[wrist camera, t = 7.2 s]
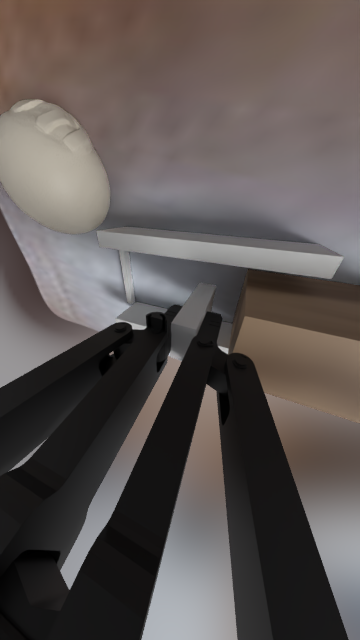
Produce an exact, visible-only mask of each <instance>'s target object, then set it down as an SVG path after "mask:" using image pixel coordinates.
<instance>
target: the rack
mask: <svg viewBox="0 0 360 640" xmlns="http://www.w3.org/2000/svg"><path fill="white" fill-rule="evenodd" d="M96 233H97V238H98V242H99V247H101V248H108V249H115V250H119V253H120V259H121V266H122V272H123V278H124V284H125V290H126V297H127V303H130V304H132V303H133V302H135V294H134V286H133V278H132V270H131V263H130V255H129V251H130V252H137V253H144V254H151V255H159V256H166V257H173V258H180V259H188V260H195V261H202V262H210V263H217V264H224V265H231V266H239V267H246V268H253V269H260V270H268V271H275V272H282V273H289V274H297V275H304V276H311V277H319V278H326V279H332V277H333V275H334V274H335V272H336V270H337V269H338V267H339V265H340V264H341V262H342V260H343V258H344V257H343V256H341V255H339V254H337V253H335V252H334V251H332V250H330V249H328V248H326V247H324V246H322V245H320V244H311V243H300V242H289V241H278V240H268V239H257V238H246V237H235V236H224V235H214V234H203V233H192V232H181V231H170V230H159V229H149V228H138V227H127V226H126V227H119V228H112V229H105V230H97V231H96ZM167 310H168V309H166V308H161V307H157V306H152V305H148V304H144V303H139V302H135V303H134V304H133V305H132V306H130V307H129V308H128V309H127V310H125V311H124V312H123V313H122V314H120V315H119V316H118V317H117V318H115V319H116V323H118V322H127V323H129V324H131V325H132V329H138V330H144V329H145V328H146V327H147V326H146V315H147V314H148V313H151V312H162V313H165V312H166V311H167ZM232 325H233V324H232V323H227V322H223V321H222V323H221V327H220V331H219V335H218V339H217V345H218V347H219V348H220V349H221V350H222V351H223V352H225V353H226V354H228V350H229V344H230V338H231V332H232Z"/></svg>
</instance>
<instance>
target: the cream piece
mask: <svg viewBox="0 0 360 640" xmlns="http://www.w3.org/2000/svg"><path fill="white" fill-rule="evenodd" d="M0 182H1V183H2V185H3V187H4V189H5V190H6V192H7V193H8V195H9V196H10V198H11V199H12V200H13V202H14V203H15V204H16V205H17V206H18V207H19V208H20V209H21V210H22V211H23V212H24V213H25V214H26V215H28V216H29V217H30V218H32V219H33V220H35V221H36V222H38V223H39V224H41V225H43V226H45V227H47V228H49V229H51V230H54V231H58V232H61V233H66V234H83V233H87V232H90V231H92V230H94V229H96V228H97V227H98V226H100V225H101V224H102V222H103V221H104V219H105V218H106V215H107V213H108V209H109V205H110V186H109V181H108V177H107V173H106V171H105V168H104V166H103V164H102V162H101V160H100V158H99V156H98V154H97V152H96V151H95V149H94V147H93V146H92V142H91V141H90V138H89V136H88V134H87V132H86V131H85V129H84V128H83V127H82V126H81V125H80V124H79V123H78V121H77V120H76V119H75V118H74V117H73V116H72V115H71V114H69V113H68V112H66V111H65V110H64V109H62V108H61V107H59V106H57V105H55V104H52V103H47V102H45V101H43V100H37V99H34V100H33V99H26V100H21V101H19V102H17V103H16V104H14V105H13V106H12V108H11V109H10V110H9V111H7V112H4V113H3V114H2V115H0Z"/></svg>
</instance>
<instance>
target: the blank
mask: <svg viewBox="0 0 360 640" xmlns="http://www.w3.org/2000/svg"><path fill="white" fill-rule="evenodd" d="M231 353H241V354H244V355H246V356H248V357H249V358H250V359H251V360H252V361H253V363H254V364H255V367H256V370H257V373H258V376H259V379H260V382H261V385H262V388H263V391H264V393H267V394H270V395H273V396H276V397H279V398H282V399H285V400H288V401H292V402H295V403H298V404H301V405H304V406H307V407H310V408H314V409H316V410H320V411H322V412H326V413H329V414H332V415H335V416H338V417H341V418H344V419H347V420H350V421H354V422H357V423H360V285H353V284H347V283H340V282H333V281H327V280H320V279H313V278H306V277H300V276H293V275H286V274H279V273H273V272H266V271H259V270H252V269H248V270H247V273H246V277H245V280H244V284H243V287H242V290H241V294H240V297H239V301H238V304H237V308H236V311H235V315H234V319H233V325H232V332H231V338H230V344H229V350H228V355H229V354H231Z"/></svg>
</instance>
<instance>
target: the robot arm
mask: <svg viewBox="0 0 360 640" xmlns="http://www.w3.org/2000/svg"><path fill="white" fill-rule="evenodd" d="M215 290H216V285H211V284H206V283H199V284H198V286H197V287H196V288H195V290H194V291H193V293H192V294H191V296H190V297H189V298H188V300H187V301H186V303H185V304H184V305H183V306H180V305H173V306H171V307H169V309H168V310H167V311H166V312H165V313H162V312H151V313H148V314H147V315H146V326H147V327H146V328H145V329H144V330H138V329H132V325H131V324H129V323H127V322H118V323H115V324H113V325H111V326H109V327H107V328H106V329H104V330H102V331H100V332H99V333H97V334H95V335H93V336H92V337H90V338H88V339H86V340H84V341H83V342H81V343H79V344H77V345H76V346H74V347H72V348H70V349H69V350H67V351H65V352H63V353H62V354H60V355H58V356H56V357H54V358H53V359H51V360H49V361H47V362H46V363H44V364H42V365H40V366H38V367H37V368H35V369H33V370H31V371H30V372H28V373H26V374H24V375H23V376H21V377H19V378H17V379H15V380H14V381H12V382H10V383H8V384H7V385H5V386H3V387H1V388H0V640H141V638H142V635H143V630H144V627H145V622H146V619H147V615H148V611H149V607H150V603H151V599H152V595H153V591H154V588H155V583H156V579H157V575H158V571H159V568H160V564H161V560H162V556H163V552H164V548H165V544H166V540H167V536H168V532H169V528H170V524H171V520H172V516H173V513H174V509H175V505H176V501H177V497H178V493H179V489H180V485H181V481H182V477H183V473H184V469H185V465H186V462H187V458H188V454H189V450H190V446H191V442H192V438H193V434H194V430H195V426H196V422H197V419H198V414H199V411H200V407H201V403H202V399H203V395H204V391H205V387H206V384H207V385H209V386H210V387H212V388H213V389H215V390H216V391H217V403H218V415H219V426H220V439H221V450H222V462H223V474H224V485H225V497H226V508H227V520H228V532H229V543H230V555H231V567H232V579H233V590H234V602H235V614H236V626H237V637H238V640H348V637H347V634H346V631H345V628H344V625H343V622H342V619H341V616H340V613H339V610H338V607H337V605H336V602H335V598H334V596H333V593H332V590H331V587H330V584H329V581H328V578H327V575H326V572H325V569H324V566H323V563H322V560H321V558H320V555H319V552H318V549H317V546H316V543H315V540H314V537H313V534H312V531H311V528H310V525H309V522H308V520H307V517H306V514H305V511H304V508H303V505H302V502H301V499H300V496H299V493H298V490H297V487H296V484H295V482H294V479H293V476H292V473H291V470H290V467H289V464H288V461H287V458H286V455H285V452H284V449H283V446H282V443H281V440H280V437H279V435H278V432H277V429H276V426H275V423H274V420H273V417H272V414H271V411H270V408H269V406H268V402H267V399H266V397H265V394H264V391H263V388H262V385H261V382H260V379H259V376H258V373H257V370H256V367H255V364H254V363H253V361H252V360H251V359H250V358H249V357H248V356H246V355H244V354H241V353H231V354H229V355H228V354H226V353H225V352H223V351H222V350H221V349H220V348H219V347H218V345H217V339H218V335H219V331H220V327H221V323H222V319H223V318H222V316H221V314H217V313H213V312H211V311H212V306H213V300H214V295H215ZM112 351H113V352H114V354H112V355H109V353H111V352H112ZM169 353H170V357H172V358H175V359H178V360H182V362H181V365H180V367H179V369H178V372H177V374H176V376H175V378H174V380H173V382H172V385H171V387H170V389H169V391H168V393H167V395H166V398H165V400H164V402H163V404H162V406H161V409H160V411H159V413H158V415H157V417H156V420H155V422H154V424H153V426H152V428H151V431H150V433H149V435H148V438H147V439H146V442H145V444H144V446H143V448H142V450H141V453H140V455H139V457H138V459H137V462H136V464H135V466H134V468H133V470H132V472H131V475H130V477H129V479H128V481H127V483H126V486H125V488H124V490H123V492H122V494H121V497H120V499H119V501H118V503H117V505H116V508H115V510H114V512H113V514H112V516H111V518H110V520H109V521H108V523H107V525H106V526H105V527H104V529H103V530H102V532H101V533H100V534H99V536H98V537H97V539H96V541H95V542H94V544H93V546H92V547H91V549H90V551H89V552H88V554H87V556H86V559H85V560H84V562H83V564H82V566H81V568H80V570H79V572H78V574H77V577H76V579H75V581H74V583H73V585H72V587H71V589H70V590H69V589H68V587H67V585H66V583H65V581H64V579H63V577H62V574H61V572H60V570H61V568H62V566H63V564H64V562H65V560H66V558H67V556H68V554H69V553H70V550H71V549H72V547H73V545H74V543H75V541H76V539H77V537H78V535H79V533H80V531H81V529H82V527H83V524H84V522H85V519H86V515H87V511H88V508H89V505H90V503H91V501H92V499H93V497H94V495H95V493H96V492H97V489H98V488H99V486H100V484H101V483H102V481H103V479H104V477H105V475H106V473H107V471H108V470H109V468H110V466H111V464H112V462H113V461H114V459H115V457H116V455H117V453H118V451H119V450H120V448H121V446H122V444H123V442H124V440H125V439H126V437H127V435H128V433H129V431H130V429H131V428H132V426H133V424H134V422H135V420H136V418H137V417H138V415H139V413H140V411H141V409H142V407H143V406H144V404H145V402H146V400H147V398H148V396H149V395H150V393H151V391H152V389H153V387H154V385H155V383H156V382H157V380H158V378H159V376H160V374H161V373H162V371H163V369H164V367H165V365H166V363H167V357H168V355H169ZM47 438H48V439H47ZM46 439H47V440H46ZM44 440H46V441H45V442H44V443H43V444H42V445H41V447H40V448H39V449H38V450H37V451H36V452H35V453H34V454H33V456H32V457H31V458H30V459H29V460H28V461H27V462H26V463H24V464H23V465H22V466H20V467H18V468H16V469H14V470H11V469H12V468H13V467H14V466H15V465H16V464H18V463H19V462H20V461H21V460H22V459H23V458H25V457H26V456H27V455H28V454H29V453H30V452H32V451H33V450H34V449H35V448H36V447H37V446H38V445H40V444H41V443H42V442H43V441H44ZM9 470H11V471H9ZM8 471H9V472H8Z"/></svg>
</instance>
